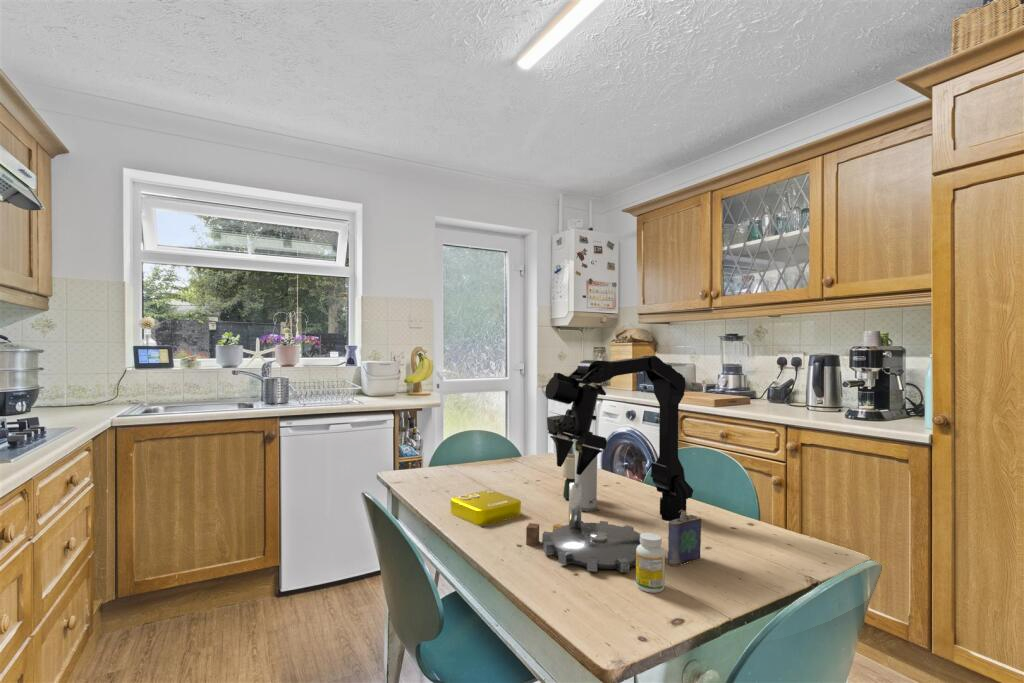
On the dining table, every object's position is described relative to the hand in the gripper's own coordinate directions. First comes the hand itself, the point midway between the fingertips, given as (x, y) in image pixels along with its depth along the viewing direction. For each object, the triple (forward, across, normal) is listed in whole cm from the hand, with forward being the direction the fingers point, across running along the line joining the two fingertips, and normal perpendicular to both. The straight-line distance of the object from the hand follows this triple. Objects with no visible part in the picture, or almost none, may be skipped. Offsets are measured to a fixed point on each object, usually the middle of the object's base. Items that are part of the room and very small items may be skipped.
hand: (568, 470), depth 125 cm
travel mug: (+11, -16, +19) cm, 27 cm away
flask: (+11, +24, +19) cm, 32 cm away
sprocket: (+15, +12, +5) cm, 20 cm away
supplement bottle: (+15, +30, +4) cm, 34 cm away
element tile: (+19, -22, -8) cm, 30 cm away
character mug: (+11, -26, +21) cm, 35 cm away
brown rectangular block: (+18, +2, -6) cm, 19 cm away
